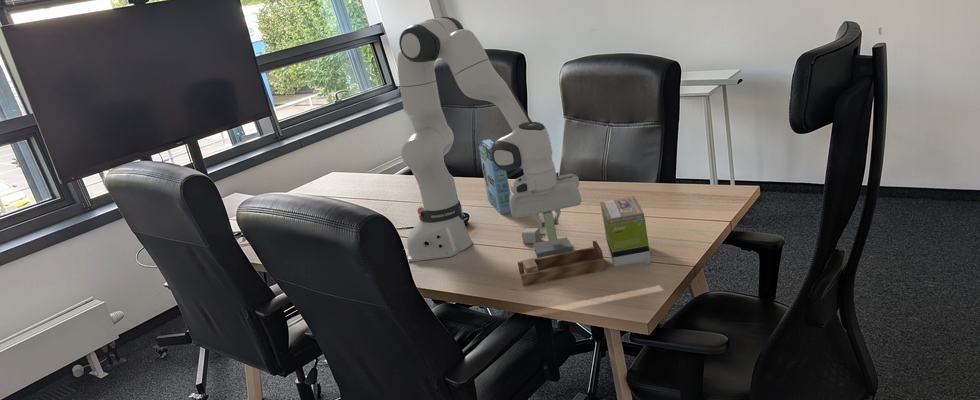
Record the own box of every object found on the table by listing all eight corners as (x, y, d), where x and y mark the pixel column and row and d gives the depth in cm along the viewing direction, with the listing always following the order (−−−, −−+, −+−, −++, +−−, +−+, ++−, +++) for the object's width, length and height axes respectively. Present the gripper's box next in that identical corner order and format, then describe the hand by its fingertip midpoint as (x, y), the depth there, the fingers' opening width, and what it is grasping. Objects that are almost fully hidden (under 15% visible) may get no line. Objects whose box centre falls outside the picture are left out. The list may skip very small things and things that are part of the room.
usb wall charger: (528, 239, 231) (526, 227, 230) (549, 239, 228) (547, 227, 226) (523, 244, 227) (521, 232, 226) (544, 244, 224) (542, 232, 223)
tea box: (606, 250, 211) (599, 200, 207) (642, 244, 210) (635, 194, 206) (614, 270, 197) (606, 218, 193) (652, 264, 196) (645, 211, 192)
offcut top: (527, 275, 197) (526, 268, 196) (523, 267, 202) (522, 260, 202) (538, 272, 197) (537, 265, 196) (534, 264, 203) (533, 258, 202)
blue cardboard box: (488, 201, 277) (476, 141, 271) (501, 197, 278) (490, 138, 271) (500, 215, 259) (488, 151, 252) (514, 211, 260) (503, 148, 253)
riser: (538, 263, 211) (536, 253, 210) (535, 253, 219) (533, 243, 218) (573, 256, 211) (571, 246, 210) (568, 246, 219) (566, 237, 218)
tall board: (549, 241, 210) (544, 215, 208) (545, 234, 216) (541, 208, 214) (557, 240, 210) (552, 213, 208) (553, 232, 216) (549, 206, 214)
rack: (523, 289, 196) (520, 268, 194) (520, 275, 205) (516, 255, 204) (606, 273, 196) (602, 252, 194) (598, 259, 205) (595, 239, 204)
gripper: (575, 169, 211) (583, 214, 215) (504, 183, 211) (513, 229, 215) (579, 174, 205) (587, 221, 209) (506, 189, 205) (515, 236, 209)
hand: (549, 225), depth 212 cm, fingers closed on tall board, 2 cm apart
